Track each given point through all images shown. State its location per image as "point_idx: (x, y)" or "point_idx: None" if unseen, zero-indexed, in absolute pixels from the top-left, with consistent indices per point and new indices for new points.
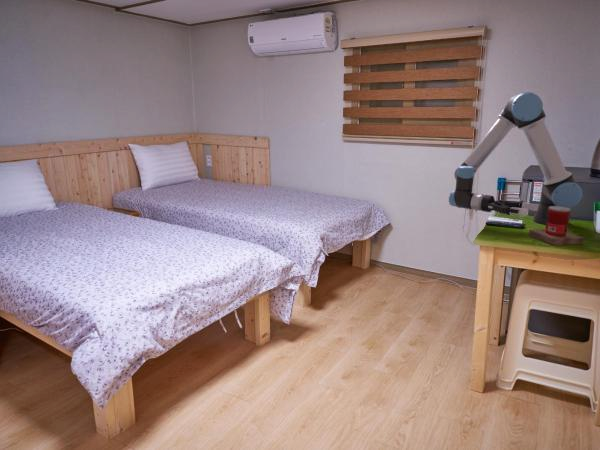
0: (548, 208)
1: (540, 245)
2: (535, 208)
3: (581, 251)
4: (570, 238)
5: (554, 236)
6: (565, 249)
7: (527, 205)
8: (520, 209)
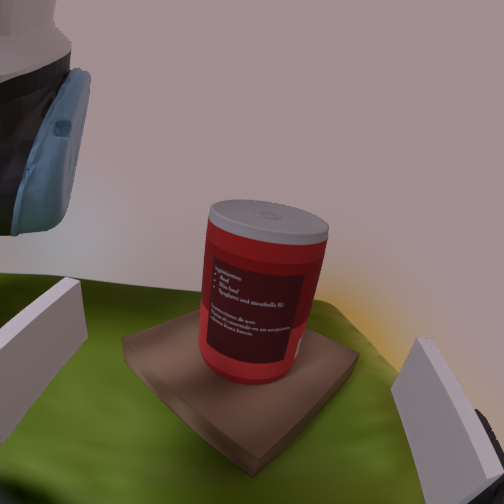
0: (289, 244)
1: (394, 400)
2: (76, 327)
3: (338, 316)
4: None
5: (306, 353)
6: (360, 343)
7: (18, 362)
8: (454, 391)
